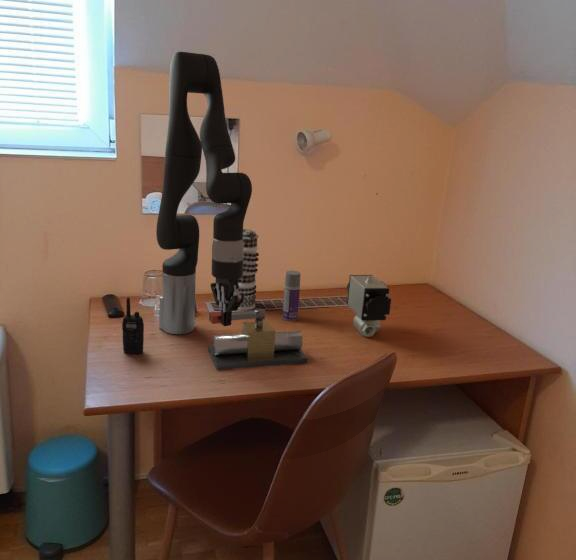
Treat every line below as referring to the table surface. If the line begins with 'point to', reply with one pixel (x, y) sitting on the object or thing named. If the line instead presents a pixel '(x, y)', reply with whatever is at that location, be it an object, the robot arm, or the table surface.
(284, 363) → the valve board
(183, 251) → the robot arm
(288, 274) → the container
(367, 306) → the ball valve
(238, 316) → the valve lever
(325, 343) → the table surface
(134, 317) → the two-way radio
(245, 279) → the black and white cylinder
